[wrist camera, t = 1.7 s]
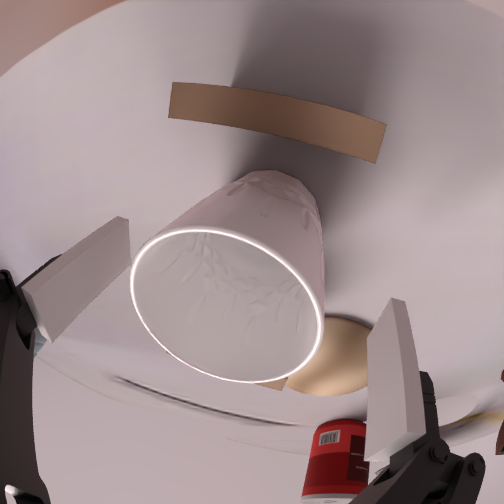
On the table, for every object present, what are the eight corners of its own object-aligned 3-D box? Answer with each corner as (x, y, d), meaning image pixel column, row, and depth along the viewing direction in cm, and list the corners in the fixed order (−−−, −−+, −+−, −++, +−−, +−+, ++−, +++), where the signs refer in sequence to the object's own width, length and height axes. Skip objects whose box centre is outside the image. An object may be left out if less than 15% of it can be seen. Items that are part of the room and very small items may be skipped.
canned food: (306, 436, 33) (292, 503, 24) (327, 414, 29) (313, 496, 20) (355, 443, 32) (347, 508, 23) (381, 421, 28) (377, 499, 19)
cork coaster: (257, 376, 28) (256, 380, 27) (283, 301, 22) (282, 306, 21) (353, 399, 26) (353, 403, 26) (406, 333, 21) (407, 338, 20)
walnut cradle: (204, 292, 24) (166, 352, 18) (230, 87, 15) (172, 82, 9) (296, 320, 23) (281, 391, 17) (362, 116, 14) (386, 124, 8)
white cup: (350, 191, 16) (368, 289, 8) (299, 284, 21) (273, 401, 12) (232, 141, 17) (137, 189, 8) (202, 242, 21) (127, 335, 13)
